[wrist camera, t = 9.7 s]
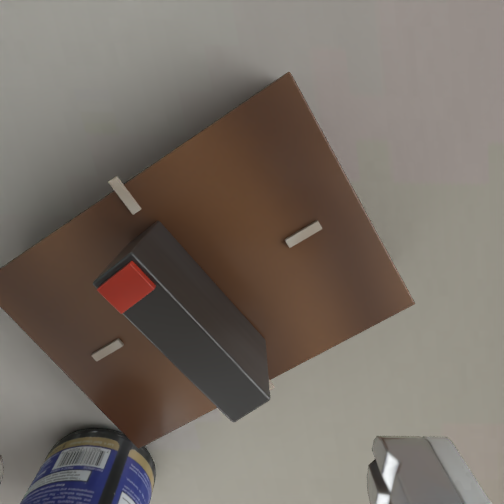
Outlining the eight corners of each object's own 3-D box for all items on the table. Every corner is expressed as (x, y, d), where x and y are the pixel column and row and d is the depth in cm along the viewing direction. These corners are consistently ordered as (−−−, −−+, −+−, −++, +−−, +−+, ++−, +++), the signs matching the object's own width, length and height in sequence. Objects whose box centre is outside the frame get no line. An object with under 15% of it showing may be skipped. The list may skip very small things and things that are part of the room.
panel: (277, 71, 15) (284, 59, 12) (392, 280, 18) (420, 312, 15) (15, 250, 17) (-33, 278, 14) (157, 407, 20) (142, 457, 17)
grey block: (266, 339, 15) (271, 405, 12) (236, 360, 16) (232, 430, 12) (158, 219, 14) (128, 254, 10) (127, 244, 14) (86, 287, 10)
